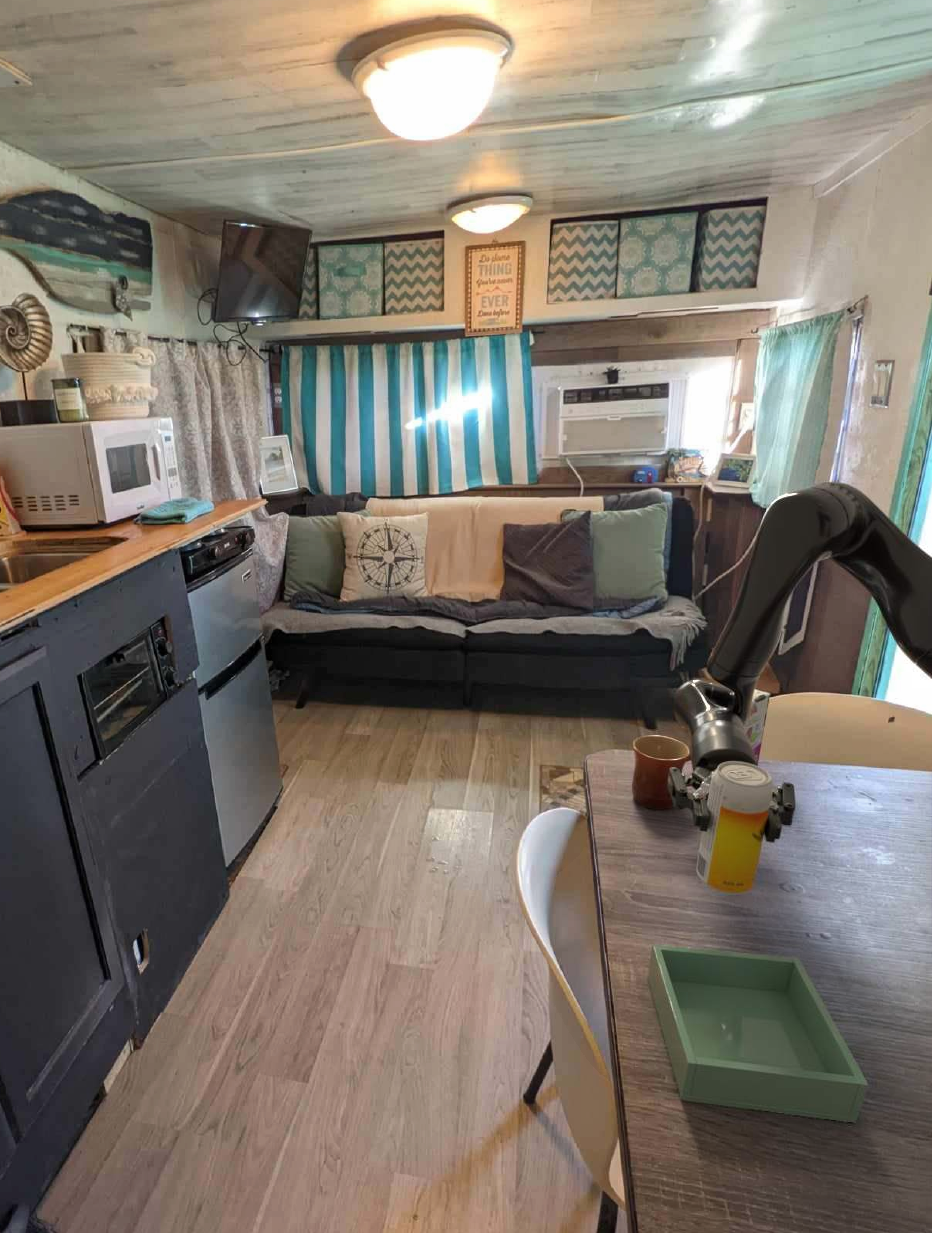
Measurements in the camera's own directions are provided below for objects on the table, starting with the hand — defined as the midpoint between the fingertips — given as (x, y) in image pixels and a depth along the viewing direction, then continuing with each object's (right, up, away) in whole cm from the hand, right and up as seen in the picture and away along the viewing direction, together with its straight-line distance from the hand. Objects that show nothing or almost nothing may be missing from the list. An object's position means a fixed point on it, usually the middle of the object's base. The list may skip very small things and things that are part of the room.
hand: (738, 830), depth 77 cm
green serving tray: (-1, -22, -3) cm, 23 cm away
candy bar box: (+24, -2, +45) cm, 51 cm away
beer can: (+1, -8, +5) cm, 10 cm away
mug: (+10, -5, +40) cm, 42 cm away
